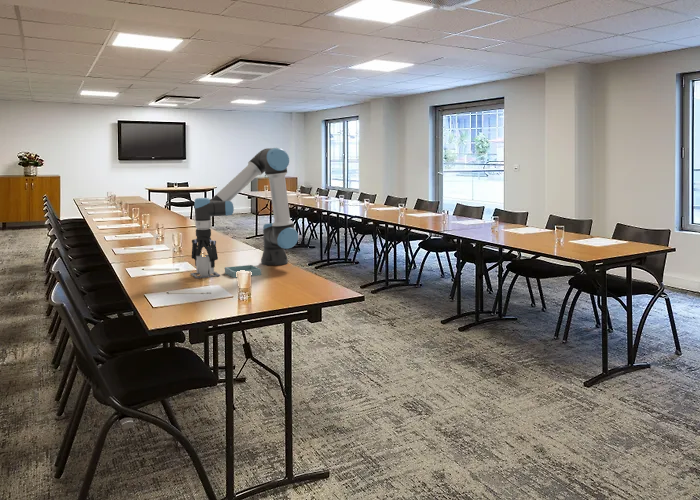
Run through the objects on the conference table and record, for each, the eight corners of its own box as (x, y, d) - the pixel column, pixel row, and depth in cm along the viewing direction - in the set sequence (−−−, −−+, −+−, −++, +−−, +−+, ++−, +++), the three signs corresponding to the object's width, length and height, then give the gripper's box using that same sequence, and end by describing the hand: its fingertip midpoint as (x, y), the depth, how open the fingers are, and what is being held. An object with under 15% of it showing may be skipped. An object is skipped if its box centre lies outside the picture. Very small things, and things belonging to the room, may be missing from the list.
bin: (251, 270, 312) (251, 264, 312) (261, 274, 299) (261, 269, 299) (224, 273, 305) (224, 267, 305) (233, 277, 292) (233, 271, 292)
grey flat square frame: (213, 272, 307) (213, 270, 307) (220, 276, 297) (220, 274, 296) (190, 274, 301) (190, 273, 301) (196, 278, 291) (196, 277, 291)
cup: (212, 276, 295) (211, 257, 294) (195, 277, 295) (194, 257, 293) (214, 273, 303) (213, 254, 302) (198, 273, 303) (197, 254, 301)
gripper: (182, 228, 296) (184, 272, 300) (214, 230, 288) (216, 275, 291) (192, 227, 303) (194, 270, 307) (224, 228, 294) (226, 273, 298)
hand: (205, 273), depth 299 cm, fingers closed on cup, 8 cm apart
